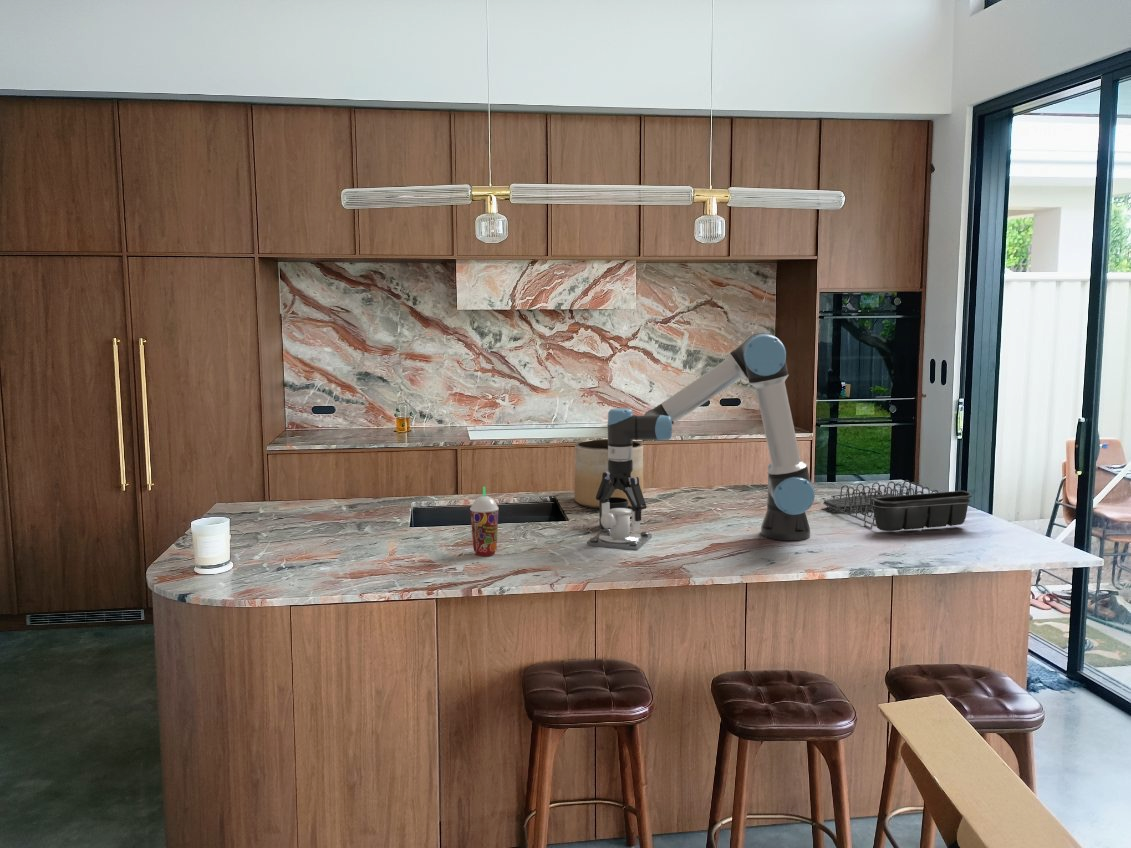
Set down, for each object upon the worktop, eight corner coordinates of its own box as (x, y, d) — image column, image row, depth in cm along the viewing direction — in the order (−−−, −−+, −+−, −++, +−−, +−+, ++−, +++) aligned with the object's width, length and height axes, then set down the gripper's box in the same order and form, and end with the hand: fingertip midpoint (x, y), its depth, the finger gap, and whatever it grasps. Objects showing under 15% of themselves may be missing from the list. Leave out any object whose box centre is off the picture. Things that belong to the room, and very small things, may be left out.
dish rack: (881, 537, 278) (883, 500, 277) (812, 507, 321) (813, 474, 320) (976, 531, 286) (978, 494, 285) (895, 502, 329) (897, 470, 327)
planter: (578, 494, 343) (578, 438, 340) (644, 496, 340) (645, 439, 337) (570, 509, 318) (569, 448, 315) (641, 511, 315) (641, 449, 312)
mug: (637, 530, 288) (637, 502, 287) (600, 530, 288) (600, 503, 287) (634, 523, 297) (634, 496, 296) (598, 523, 297) (598, 497, 296)
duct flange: (651, 537, 279) (651, 531, 279) (637, 550, 264) (637, 544, 264) (603, 532, 285) (603, 527, 285) (586, 545, 270) (586, 539, 270)
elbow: (620, 532, 279) (620, 507, 278) (635, 536, 274) (635, 510, 273) (598, 537, 273) (598, 511, 272) (612, 541, 268) (612, 515, 267)
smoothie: (488, 559, 255) (486, 490, 253) (465, 555, 260) (463, 487, 257) (505, 552, 262) (504, 485, 260) (482, 548, 267) (481, 483, 264)
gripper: (584, 455, 279) (585, 522, 281) (640, 465, 259) (640, 536, 262) (602, 453, 283) (602, 518, 286) (658, 462, 264) (658, 532, 267)
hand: (620, 527), depth 274 cm, fingers open, 13 cm apart
